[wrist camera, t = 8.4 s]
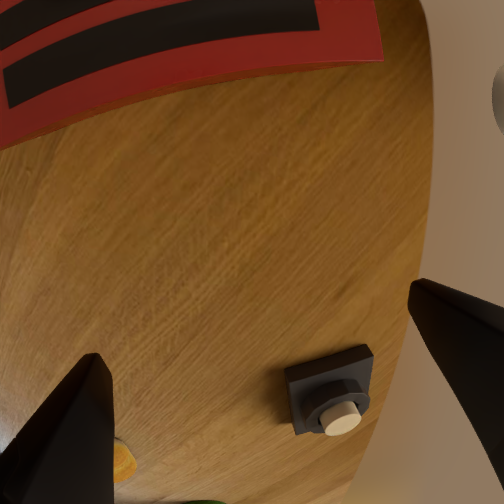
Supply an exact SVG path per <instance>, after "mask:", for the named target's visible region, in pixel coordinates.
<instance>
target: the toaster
mask: <svg viewBox="0 0 504 504" xmlns="http://www.w3.org/2000/svg"><path fill="white" fill-rule="evenodd" d="M383 61H384V56H383V50H382V43H381V37H380V31H379V25H378V20H377V15H376V10H375V5H374V0H0V151H2V150H4V149H7V148H9V147H12V146H15V145H17V144H20V143H23V142H25V141H28V140H31V139H34V138H37V137H40V136H42V135H45V134H48V133H51V132H53V131H56V130H58V129H61V128H63V127H66V126H68V125H71V124H73V123H76V122H79V121H81V120H84V119H87V118H90V117H93V116H95V115H98V114H101V113H104V112H107V111H110V110H113V109H117V108H120V107H123V106H126V105H130V104H133V103H136V102H140V101H143V100H147V99H151V98H154V97H158V96H162V95H166V94H170V93H174V92H178V91H183V90H187V89H192V88H196V87H201V86H206V85H211V84H216V83H221V82H227V81H233V80H239V79H245V78H252V77H259V76H267V75H275V74H283V73H293V72H304V71H314V70H320V69H326V68H333V67H340V66H347V65H355V64H364V63H374V62H383Z"/></svg>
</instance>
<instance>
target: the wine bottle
mask: <svg viewBox="0 0 504 504" xmlns="http://www.w3.org/2000/svg"><path fill="white" fill-rule="evenodd" d="M184 504H226V503H223V502H219V501H192V502H187V503H184Z"/></svg>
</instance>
